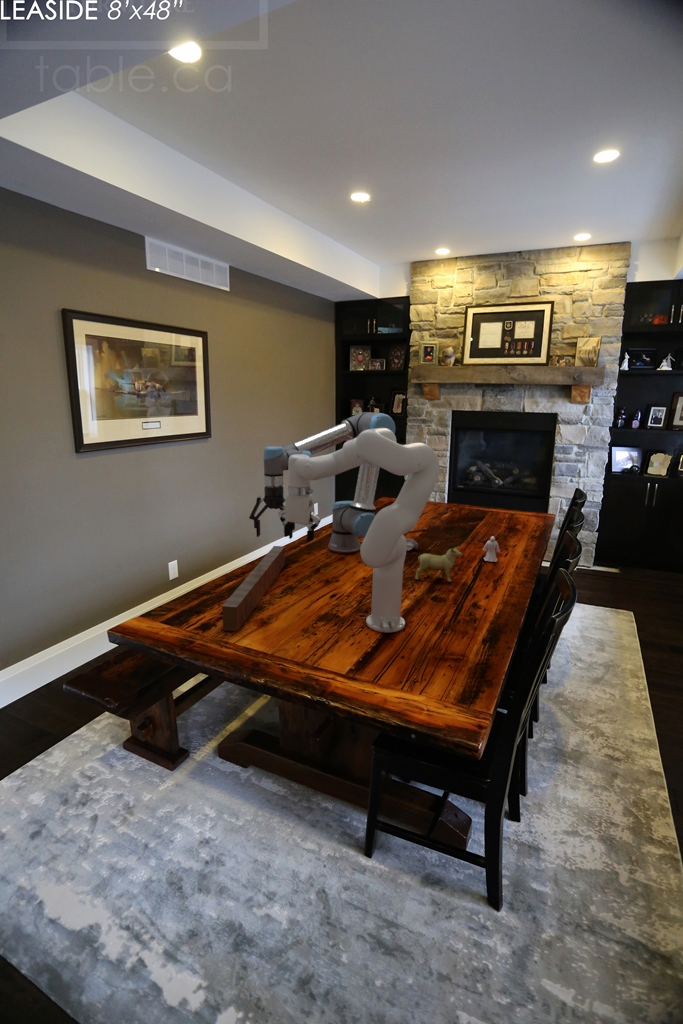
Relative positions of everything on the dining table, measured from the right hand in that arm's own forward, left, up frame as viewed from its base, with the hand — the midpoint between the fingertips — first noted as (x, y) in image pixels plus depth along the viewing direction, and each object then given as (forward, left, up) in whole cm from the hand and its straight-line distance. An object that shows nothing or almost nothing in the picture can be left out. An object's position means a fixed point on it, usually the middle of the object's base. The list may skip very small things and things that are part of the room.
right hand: (298, 538), depth 176 cm
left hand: (+28, +10, -8) cm, 31 cm away
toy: (+15, -55, -23) cm, 62 cm away
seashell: (+54, -52, -23) cm, 79 cm away
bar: (+5, +15, -23) cm, 28 cm away
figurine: (+38, -86, -23) cm, 97 cm away
